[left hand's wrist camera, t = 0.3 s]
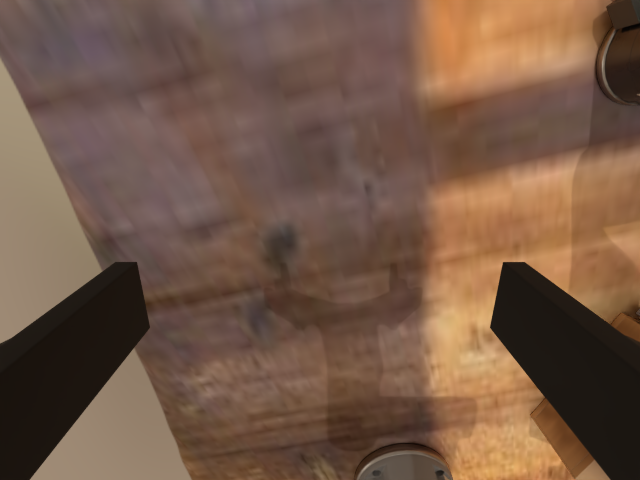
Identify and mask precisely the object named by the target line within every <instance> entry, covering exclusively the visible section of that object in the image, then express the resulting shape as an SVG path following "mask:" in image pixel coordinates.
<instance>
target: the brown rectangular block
mask: <svg viewBox="0 0 640 480" xmlns="http://www.w3.org/2000/svg"><path fill="white" fill-rule="evenodd" d="M611 326H613V327H614V328H615V329H617V330H618V331H619V332H621V333H622V334H624V335H626V336H628V337H630V338H632V339H635V340H637V341H639V342H640V321H638V320H636V319H634V318H632V317H629V316H627V315H625V314H623V313H621V314H620V315H619V316H618V317H617V318H616V319H615V320H614V321H613V323H612V324H611ZM531 417H532V418H533V420H534V421H535V423H536V424H537V425H538V427H539V428H540V430H541V431H542V433H543V434H544V435H545V437H546V438H547V440H548V441H549V443H550V444H551V446H552V447H553V448H554V450H555V451H556V453H557V454H558V456H559V457H560V458H561V460H562V461H563V463H564V464H565V466H566V467H567V469H568V470H569V471H570V473H571V474H572V476H573V477H574V479H576V480H610V479H609V477H608V476H607V475H606V473H605V472H604V471H603V470H602V468H601V467H600V466H599V465H598V463H597V462H596V461H595V460H594V458H593V457H592V456H591V455H590V453H589V452H588V451H587V449H586V448H585V447H584V446H583V444H582V443H581V442H580V441H579V439H578V438H577V437H576V436H575V434H574V433H573V432H572V431H571V429H570V428H569V427H568V425H567V424H566V423H565V422H564V420H563V419H562V418H561V417H560V415H559V414H558V413H557V412H556V410H555V409H554V408H553V407H552V405H551V404H550V403H549V401H548V400H547V399H546V398H545V399H544V400H543V401H542V403H541V404H540V405H539V406H538V407H537V408H536V409H535V410H534V412H533V413H532V414H531Z"/></svg>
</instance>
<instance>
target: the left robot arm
mask: <svg viewBox="0 0 640 480" xmlns="http://www.w3.org/2000/svg"><path fill="white" fill-rule="evenodd" d="M149 328H150V325H149V320H148V315H147V310H146V305H145V300H144V295H143V290H142V285H141V280H140V275H139V270H138V265H137V262H115V263H114V264H112V265H111V266H110V267H108V268H107V269H105V270H104V271H103V272H101V273H100V274H99V275H97V276H96V277H95V278H93V279H92V280H90V281H89V282H88V283H86V284H85V285H84V286H82V287H81V288H79V289H78V290H77V291H75V292H74V293H73V294H71V295H70V296H68V297H67V298H66V299H64V300H63V301H62V302H60V303H59V304H58V305H56V306H55V307H53V308H52V309H51V310H49V311H48V312H47V313H45V314H44V315H43V316H41V317H40V318H38V319H37V320H36V321H34V322H33V323H32V324H30V325H29V326H27V327H26V328H25V329H23V330H22V331H21V332H19V333H18V334H16V335H15V336H14V337H12V338H11V339H9V340H7V341H5V342H3V343H0V480H30V479H31V477H32V476H33V475H34V473H35V472H36V471H37V470H38V468H39V467H40V466H41V465H42V463H43V462H44V461H45V460H46V458H47V457H48V456H49V455H50V453H51V452H52V451H53V449H54V448H55V447H56V446H57V444H58V443H59V442H60V441H61V439H62V438H63V437H64V436H65V434H66V433H67V432H68V431H69V429H70V428H71V427H72V425H73V424H74V423H75V422H76V420H77V419H78V418H79V417H80V415H81V414H82V413H83V412H84V410H85V409H86V408H87V407H88V405H89V404H90V403H91V401H92V400H93V399H94V398H95V396H96V395H97V394H98V393H99V391H100V390H101V389H102V387H103V386H104V385H105V384H106V382H107V381H108V380H109V379H110V377H111V376H112V375H113V374H114V372H115V371H116V370H117V369H118V367H119V366H120V365H121V363H122V362H123V361H124V360H125V359H126V357H127V356H128V355H129V353H130V352H131V351H132V350H133V348H134V347H135V346H136V345H137V343H138V342H139V341H140V340H141V338H142V337H143V336H144V334H145V333H146V332H147V331H148V329H149ZM490 328H491V329H492V331H493V332H494V333H495V334H496V336H497V337H498V338H499V340H500V341H501V342H502V343H503V345H504V346H505V347H506V348H507V350H508V351H509V352H510V353H511V355H512V356H513V357H514V359H515V360H516V361H517V362H518V364H519V365H520V366H521V367H522V369H523V370H524V371H525V372H526V374H527V375H528V376H529V377H530V379H531V380H532V381H533V383H534V384H535V385H536V386H537V388H538V389H539V390H540V391H541V393H542V394H543V395H544V396H545V398H546V399H547V400H548V401H549V403H550V404H551V405H552V407H553V408H554V409H555V410H556V412H557V413H558V414H559V415H560V417H561V418H562V419H563V420H564V422H565V423H566V424H567V425H568V427H569V428H570V429H571V431H572V432H573V433H574V434H575V436H576V437H577V438H578V439H579V441H580V442H581V443H582V444H583V446H584V447H585V448H586V449H587V451H588V452H589V453H590V455H591V456H592V457H593V458H594V460H595V461H596V462H597V463H598V465H599V466H600V467H601V468H602V470H603V471H604V472H605V473H606V475H607V476H608V477H609V479H610V480H640V342H639V341H637V340H635V339H632V338H630V337H628V336H626V335H624V334H622V333H621V332H619V331H618V330H617V329H615V328H614V327H613V326H611V325H610V324H608V323H607V322H606V321H604V320H603V319H602V318H600V317H599V316H598V315H596V314H595V313H593V312H592V311H591V310H589V309H588V308H587V307H585V306H584V305H582V304H581V303H580V302H578V301H577V300H576V299H574V298H573V297H572V296H570V295H569V294H567V293H566V292H565V291H563V290H562V289H561V288H559V287H558V286H556V285H555V284H554V283H552V282H551V281H550V280H548V279H547V278H546V277H544V276H543V275H541V274H540V273H539V272H537V271H536V270H535V269H533V268H532V267H530V266H529V265H528V264H526V263H525V262H503V265H502V270H501V275H500V280H499V285H498V290H497V295H496V300H495V305H494V310H493V315H492V320H491V325H490ZM355 480H453V478H452V475H451V472H450V469H449V467H448V464H447V462H446V461H445V459H444V458H443V457H442V456H441V455H440V454H438V453H437V452H435V451H434V450H432V449H430V448H427V447H424V446H420V445H415V444H397V445H391V446H387V447H384V448H381V449H379V450H377V451H375V452H373V453H372V454H370V455H369V456H367V457H366V458H365V459H364V460H363V461H362V462H361V463H360V465H359V466H358V468H357V470H356V473H355Z"/></svg>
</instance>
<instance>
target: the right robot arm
mask: <svg viewBox="0 0 640 480" xmlns="http://www.w3.org/2000/svg"><path fill="white" fill-rule="evenodd" d="M606 8H607V10H608V13H609V16H610V18H611V21H612V24H613V26H612V28H611V29H610V30H609V32H608V33H607V35H606V37H605V39H604V41H603V43H602V45H601V48H600V51H599V54H598V59H597V78H598V82H599V85H600V87H601V89H602V91H603V92H604V94H605V95H606V96H607V97H608V98H610V99H611V100H613V101H614V102H616V103H619V104H623V105H640V0H615V1H614V2H612V3H611V4H610V5H608V6H607V7H606Z"/></svg>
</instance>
